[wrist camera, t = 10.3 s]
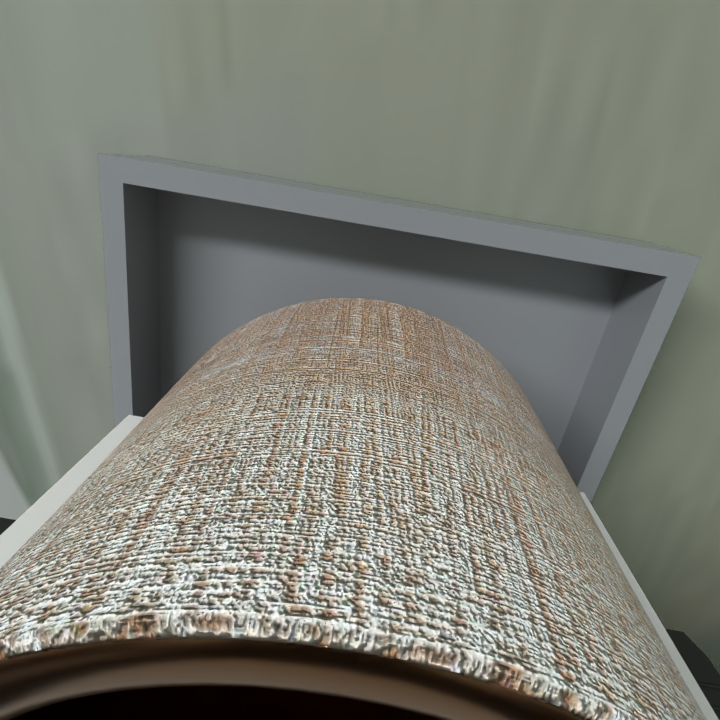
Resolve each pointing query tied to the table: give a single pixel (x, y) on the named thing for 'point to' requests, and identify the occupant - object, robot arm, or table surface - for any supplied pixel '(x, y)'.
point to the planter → (331, 548)
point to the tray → (382, 287)
